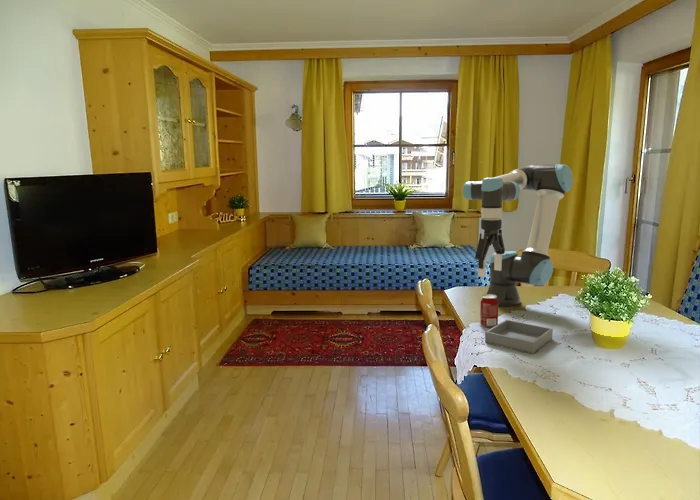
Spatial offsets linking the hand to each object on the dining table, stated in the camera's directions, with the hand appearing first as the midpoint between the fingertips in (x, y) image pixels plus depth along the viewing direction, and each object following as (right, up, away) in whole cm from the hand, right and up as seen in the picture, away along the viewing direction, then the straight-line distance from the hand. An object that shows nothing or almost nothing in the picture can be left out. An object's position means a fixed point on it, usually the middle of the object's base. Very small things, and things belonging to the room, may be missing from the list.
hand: (489, 273), depth 188 cm
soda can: (+1, -21, +4) cm, 21 cm away
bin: (+7, -24, -13) cm, 28 cm away
